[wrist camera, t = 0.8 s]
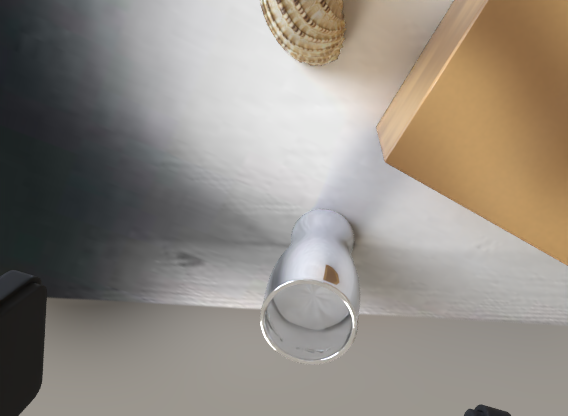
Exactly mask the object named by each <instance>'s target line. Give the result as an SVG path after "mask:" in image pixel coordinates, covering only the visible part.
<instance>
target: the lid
mask: <svg viewBox="0 0 568 416" xmlns="http://www.w3.org/2000/svg"><path fill="white" fill-rule="evenodd" d="M384 161H385V162H386V163H387V164H389V165H391V166H393V167H395V168H396V169H398V170H400V171H402V172H403V173H405V174H407V175H409V176H410V177H412V178H414V179H416V180H417V181H419V182H421V183H423V184H425V185H426V186H428V187H430V188H432V189H433V190H435V191H437V192H439V193H440V194H442V195H444V196H446V197H447V198H449V199H451V200H453V201H455V202H456V203H458V204H460V205H462V206H463V207H465V208H467V209H469V210H470V211H472V212H474V213H476V214H477V215H479V216H481V217H483V218H485V219H486V220H488V221H490V222H492V223H493V224H495V225H497V226H499V227H500V228H502V229H504V230H506V231H507V232H509V233H511V234H513V235H515V236H516V237H518V238H520V239H522V240H523V241H525V242H527V243H529V244H530V245H532V246H534V247H536V248H537V249H539V250H541V251H543V252H545V253H546V254H548V255H550V256H552V257H553V258H555V259H557V260H559V261H560V262H562V263H564V264H566V265H567V266H568V0H485V2H484V3H483V5H482V6H481V8H480V9H479V11H478V13H477V14H476V16H475V17H474V19H473V20H472V22H471V24H470V25H469V27H468V28H467V30H466V31H465V33H464V34H463V36H462V38H461V39H460V41H459V42H458V44H457V45H456V47H455V49H454V50H453V52H452V53H451V55H450V56H449V58H448V60H447V61H446V63H445V64H444V66H443V67H442V69H441V70H440V72H439V74H438V75H437V77H436V78H435V80H434V81H433V83H432V85H431V86H430V88H429V89H428V91H427V92H426V94H425V96H424V97H423V99H422V100H421V102H420V103H419V105H418V106H417V108H416V110H415V111H414V113H413V114H412V116H411V117H410V119H409V121H408V122H407V124H406V125H405V127H404V128H403V130H402V132H401V133H400V135H399V136H398V138H397V139H396V141H395V142H394V144H393V146H392V147H391V149H390V150H389V152H388V153H387V155H386V157H385V158H384Z"/></svg>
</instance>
